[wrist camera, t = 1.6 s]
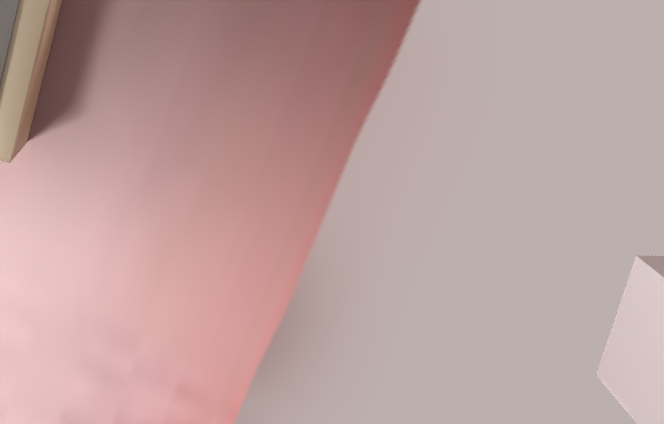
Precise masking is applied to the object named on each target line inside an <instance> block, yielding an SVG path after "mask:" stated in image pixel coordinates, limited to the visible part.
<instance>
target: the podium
mask: <svg viewBox="0 0 664 424" xmlns="http://www.w3.org/2000/svg"><path fill="white" fill-rule="evenodd" d="M61 4H62V0H0V160H1V161H5V162H8V163H10V162H11V161H12V160H13V158H14V157H15V156H16V155H17V154H18V152H19V151H20V150H21V149H22V147H23V146H24V145H25V144H26V143H27V141H28V137H29V133H30V129H31V125H32V121H33V117H34V113H35V109H36V105H37V101H38V97H39V93H40V89H41V85H42V80H43V76H44V72H45V68H46V64H47V60H48V56H49V52H50V48H51V44H52V40H53V36H54V32H55V28H56V24H57V20H58V16H59V12H60V8H61Z"/></svg>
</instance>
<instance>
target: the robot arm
mask: <svg viewBox="0 0 664 424" xmlns="http://www.w3.org/2000/svg"><path fill="white" fill-rule="evenodd" d="M596 376H597V377H598V378H599V379H600V380H601V382H602V383H603V384H604V385H605V386H606V388H607V389H608V390H609V391H610V392H611V394H612V395H613V396H614V397H615V398H616V399H617V400H618V402H619V403H620V404H621V405H622V406H623V408H624V409H625V410H626V411H627V412H628V414H629V415H630V416H631V417H632V418H633V420H634V421H635V422H636V423H637V424H664V256H636V258H635V261H634V263H633V266H632V269H631V273H630V276H629V279H628V281H627V284H626V287H625V290H624V294H623V296H622V300H621V303H620V306H619V308H618V311H617V314H616V317H615V320H614V323H613V326H612V329H611V332H610V335H609V338H608V341H607V344H606V347H605V350H604V353H603V356H602V359H601V362H600V365H599V368H598V371H597V374H596Z"/></svg>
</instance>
